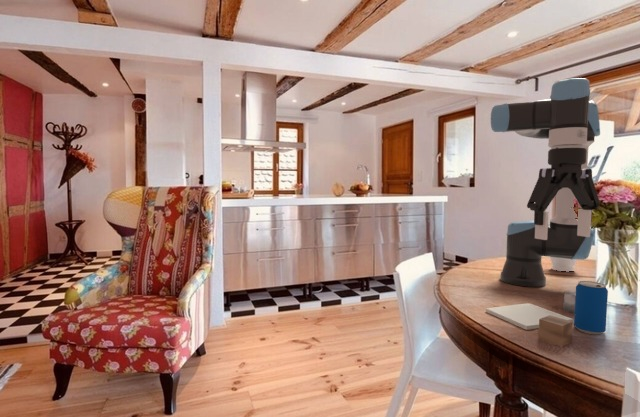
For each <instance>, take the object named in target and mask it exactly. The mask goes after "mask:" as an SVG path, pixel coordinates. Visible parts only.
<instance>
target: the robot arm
mask: <svg viewBox="0 0 640 417" xmlns="http://www.w3.org/2000/svg"><path fill="white" fill-rule="evenodd" d="M590 85H591V82H590V80H589V79H587V78H582V77H580V78H579V77H578V78H577V77H576V78H567V79H561V80H558V81H556V82H554V83H553V84H552V86H551V92H550V96H549V98H550V99H549V98H548V99H540V100H534V101H533V100H532V101H523V102H513V103H511V102H510V103H507V102H506V103H502V104H496V105H494V106H493V107H492V108H491V113H490V127H491V130H492V131H493V132H494V133H507V132H508V133H509V132H515V133H516V134H517V135H519V136H521V137H526V138H531V139H542V140H545V139H547V140H548V145H547V146H548V147H549V148H550V149H549V150H548V152H547V164H548V165H550V167H548V168H546V167H545V168H540V169H539V172H538V178H537V181H536V183H535V185H534V187H533V190H532V192H531V195H530V197H529V200H528V202H527V204H526V208H528V209H530V211H533V212H534V214H533V216H534V217H533V219H532V220H518V221H513V222H510V223H508V225H507V232H506V253H505V255H506V259H505V262H504V264H503V268H502V271H501V272H500V281H502V282H503V283H507V284H510V285H514V286H520V287H530V288H531V287H532V288H533V287H534V288H536V287H538V288H539V287H545V286H546V285H547V277H546V276H545V272H544V268H543V264H542V257H548V258H550V257H557V258H566V259H571V260H573V259H577V260H578V261H579V260H583V261H584V260H586V259H588V258H589V256H590V253H591V249H592V245H593V241H594V236H595V235H594V234H595V228H594V229H591V227H592V224H591V223H592V220H593V211H597V210H598V208H599V207H600V205H601V202H600V198H599V195H598V193H597V190H596V187H595V186H596V185H595V183H594V179H593V169H592V168H588V160H589V148H590V146H591V145H592V144H593V143H594V142H595V137H599V136H600V135H601V127H600V116H599V107H598V104H597V103H596V102H595V101H593V100H590V95H591V86H590ZM574 196H575V197H574ZM554 198H555V214H554V216H553V217H552V218H551V219H550V220H549V211H546V210H547V209H548V207H549V206H550V204H551V203H552V201H553V200H554ZM574 198H576V199H577V201H578V203H579V205H580V206H581V208H582V209H578V217H577V214H576V213H575V211H574V209H573V207H574V203H573V200H574ZM571 207H572V208H571ZM570 208H571V209H570ZM575 218H578V221H577V220H576V219H575Z"/></svg>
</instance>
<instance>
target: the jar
mask: <svg viewBox="0 0 640 417" xmlns="http://www.w3.org/2000/svg"><path fill="white" fill-rule="evenodd" d="M549 258H550V262H551V265H552V266H551V270H553V271H556V270H557V272H561V271H566V272H565V273H570V272H569V271H574V272H575V271H576V270H575V268H574V267H575V266H576V264H577V262H578V259H573V260H571V259H566V258H557V257H549Z"/></svg>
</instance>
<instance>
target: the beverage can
mask: <svg viewBox="0 0 640 417" xmlns="http://www.w3.org/2000/svg"><path fill="white" fill-rule="evenodd" d="M575 292H576V296H575V314H573V315H574V317H573V326H574V327H575V328H576V329H577V330H578V331H580V332H582V333H584V334H588V335H601V334H602V333H605V332H606V329H607V316H608V315H607V312H608V295H609V291H608V288H607V285H606V284H604V283H602V282H598V281H592V280H580V281H579V280H578V283H577V284H576V286H575Z"/></svg>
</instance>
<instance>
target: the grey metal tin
mask: <svg viewBox="0 0 640 417" xmlns="http://www.w3.org/2000/svg"><path fill="white" fill-rule="evenodd" d="M575 296H576V290H575V291H572V290H571V291H570V290H567V291H564V292H563V306H562V307H563V308H562V310H563V311H565V312H567V313H571V314H573V315H575Z"/></svg>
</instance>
